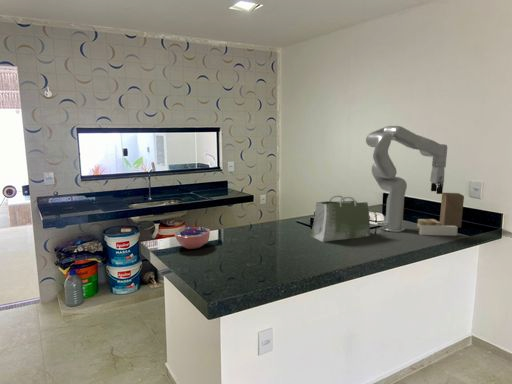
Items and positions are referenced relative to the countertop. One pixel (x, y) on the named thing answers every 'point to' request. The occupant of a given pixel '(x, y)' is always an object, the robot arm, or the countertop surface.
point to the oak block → (428, 222)
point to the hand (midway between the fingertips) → (436, 192)
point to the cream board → (438, 230)
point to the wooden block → (451, 209)
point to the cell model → (192, 237)
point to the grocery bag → (340, 220)
